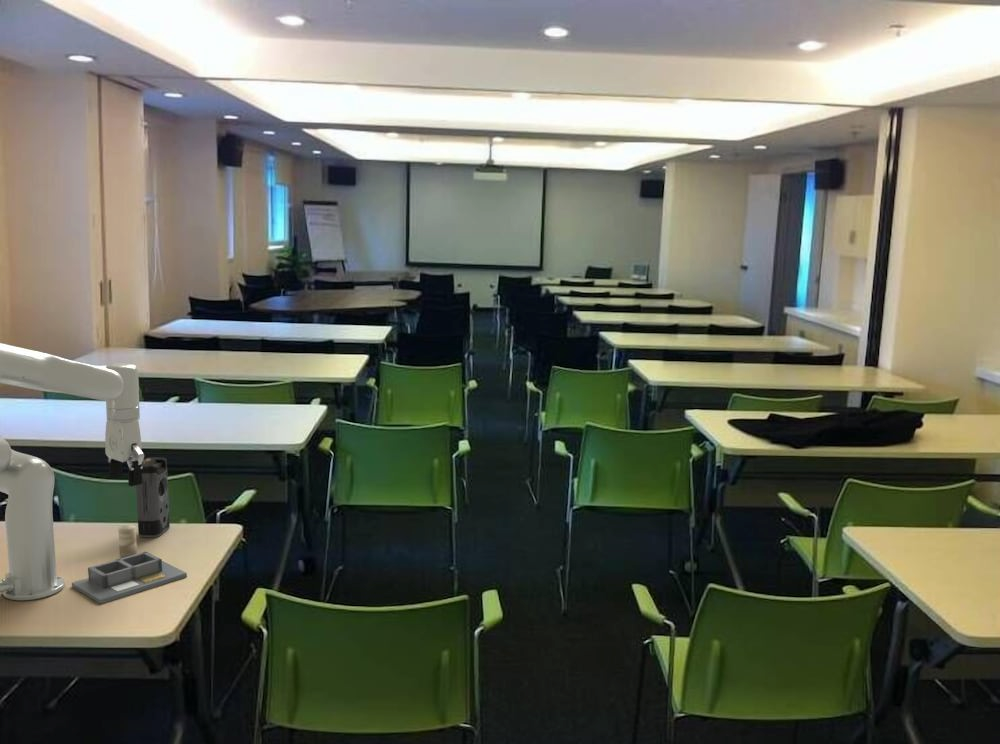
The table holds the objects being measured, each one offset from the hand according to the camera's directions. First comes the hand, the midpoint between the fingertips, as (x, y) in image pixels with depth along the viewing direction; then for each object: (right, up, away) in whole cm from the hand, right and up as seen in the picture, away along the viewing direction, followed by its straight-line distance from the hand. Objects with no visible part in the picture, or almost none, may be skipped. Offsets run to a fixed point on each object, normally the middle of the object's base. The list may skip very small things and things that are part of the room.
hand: (125, 481), depth 219 cm
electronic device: (-1, -17, +22) cm, 28 cm away
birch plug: (-1, -20, +3) cm, 20 cm away
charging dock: (+6, -22, -11) cm, 26 cm away
